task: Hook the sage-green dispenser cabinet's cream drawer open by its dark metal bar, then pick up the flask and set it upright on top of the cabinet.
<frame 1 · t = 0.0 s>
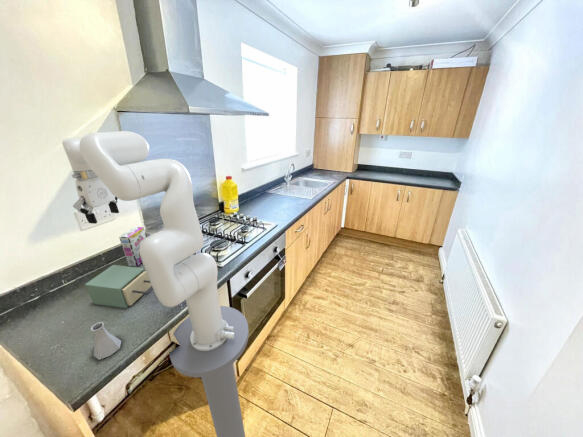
hand: (104, 217, 90), 31 cm above the worktop, tool pointing down, fingers open, 9 cm apart
flask: (108, 349, 74), on the worktop
cabinet: (123, 294, 96), on the worktop
candy bar box: (140, 260, 118), on the worktop
squeeze bottle: (157, 265, 115), on the worktop
drawer: (131, 287, 93), point 5 cm above the worktop, slide at 0.5 cm
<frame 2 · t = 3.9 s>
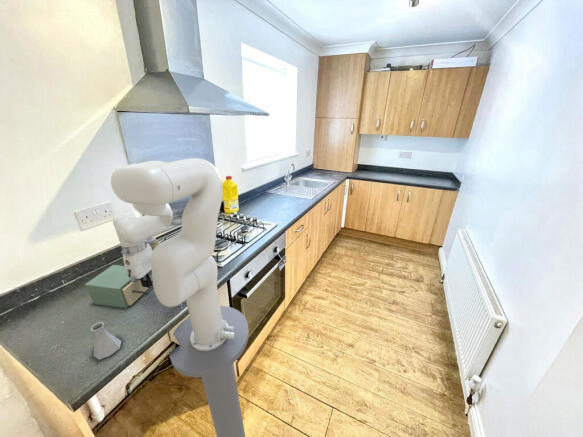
hand: (147, 285, 91), 6 cm above the worktop, tool pointing down, fingers closed
drawer: (131, 286, 93), point 5 cm above the worktop, slide at 0.4 cm, touching gripper
everything else where it was.
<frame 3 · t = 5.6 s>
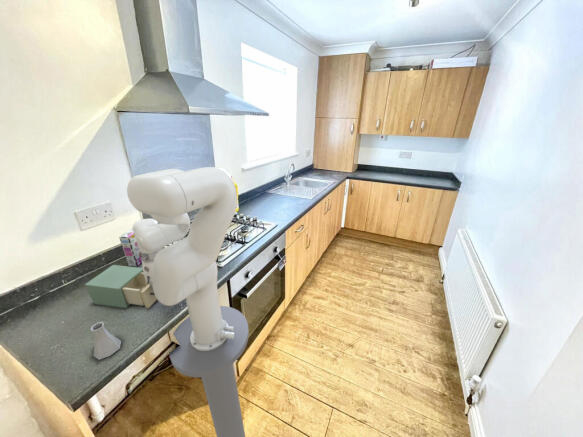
hand: (165, 291, 91), 4 cm above the worktop, tool pointing down, fingers closed
drawer: (148, 289, 92), point 5 cm above the worktop, slide at 8.1 cm
everything else where it was.
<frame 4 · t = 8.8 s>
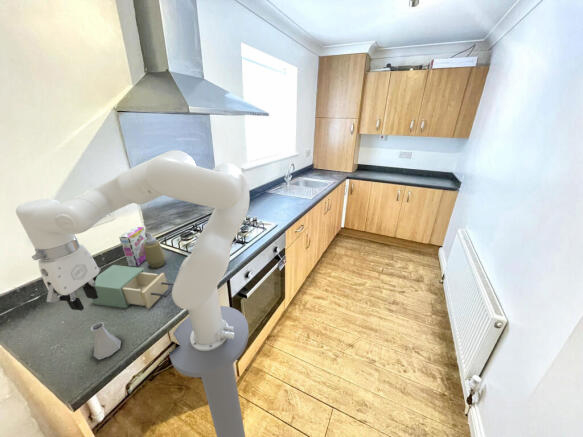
hand: (85, 302, 66), 19 cm above the worktop, tool pointing down, fingers open, 3 cm apart
drawer: (149, 289, 92), point 5 cm above the worktop, slide at 8.5 cm
everything else where it was.
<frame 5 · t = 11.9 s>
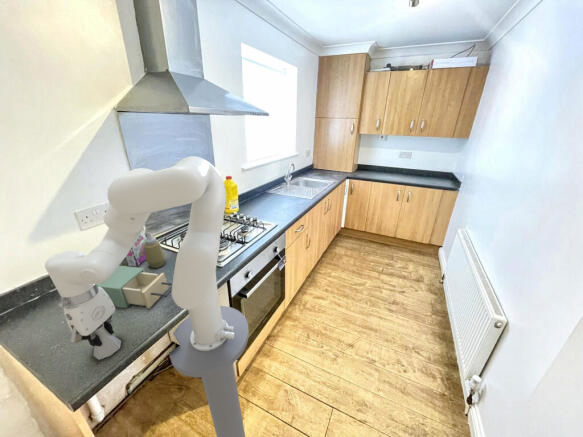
hand: (103, 338, 72), 5 cm above the worktop, tool pointing down, fingers closed on flask, 3 cm apart
flask: (108, 349, 74), on the worktop, touching gripper
everything else where it was.
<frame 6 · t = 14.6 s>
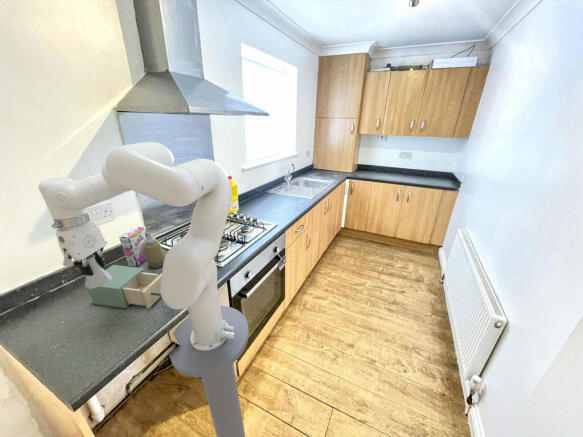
hand: (94, 270, 76), 21 cm above the worktop, tool pointing down, fingers closed on flask, 3 cm apart
flask: (99, 282, 78), point 16 cm above the worktop, touching gripper
everything else where it was.
when the fingers open (14 cm above the worktop, at t = 17.5 s): flask stays where it is, resting on cabinet.
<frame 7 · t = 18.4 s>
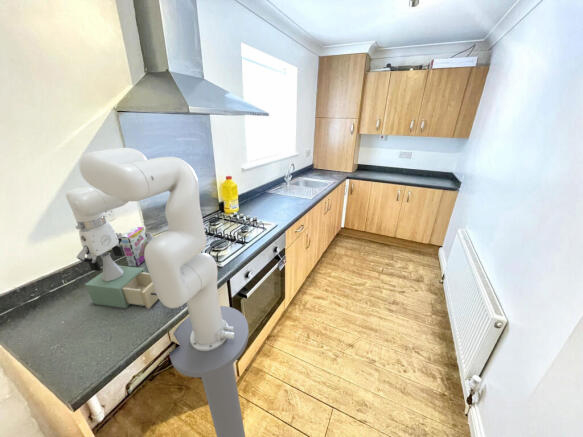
hand: (108, 262, 89), 16 cm above the worktop, tool pointing down, fingers open, 9 cm apart
flask: (113, 276, 92), point 9 cm above the worktop, touching cabinet
everything else where it was.
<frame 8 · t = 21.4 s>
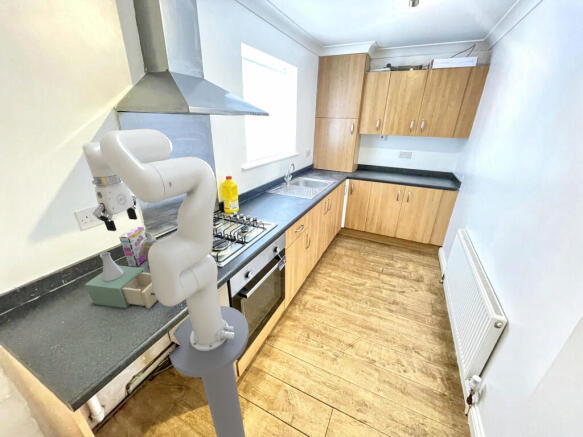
hand: (123, 224, 87), 30 cm above the worktop, tool pointing down, fingers open, 9 cm apart
nothing on the worktop moved.
at the end: drawer slide at 8.5 cm; flask inside the target area on the cabinet (1.0 cm from its centre), point 9.4 cm above the cabinet's base; flask tilted 0° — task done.
